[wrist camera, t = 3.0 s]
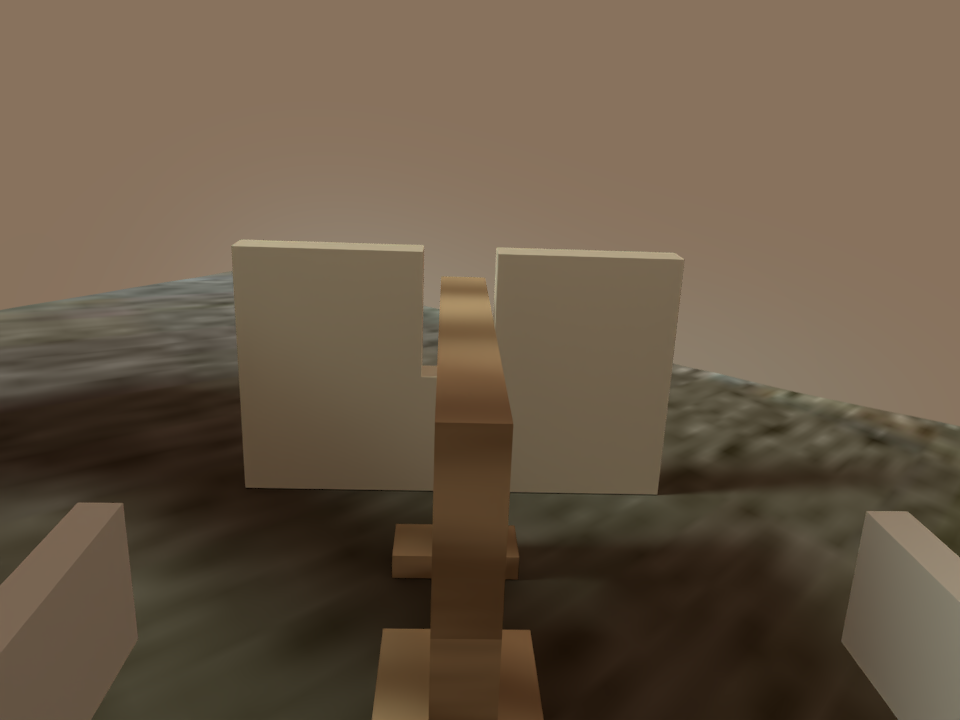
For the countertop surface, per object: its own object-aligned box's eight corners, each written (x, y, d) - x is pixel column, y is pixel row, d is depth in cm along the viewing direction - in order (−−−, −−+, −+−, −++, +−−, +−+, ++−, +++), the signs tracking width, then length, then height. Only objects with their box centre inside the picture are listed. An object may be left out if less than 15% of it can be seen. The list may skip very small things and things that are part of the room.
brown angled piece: (555, 845, 25) (591, 425, 21) (360, 846, 25) (355, 420, 20) (513, 546, 42) (528, 279, 37) (396, 544, 41) (397, 275, 37)
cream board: (245, 487, 47) (231, 246, 42) (253, 472, 49) (240, 239, 44) (657, 494, 48) (684, 259, 43) (649, 479, 50) (674, 252, 45)
